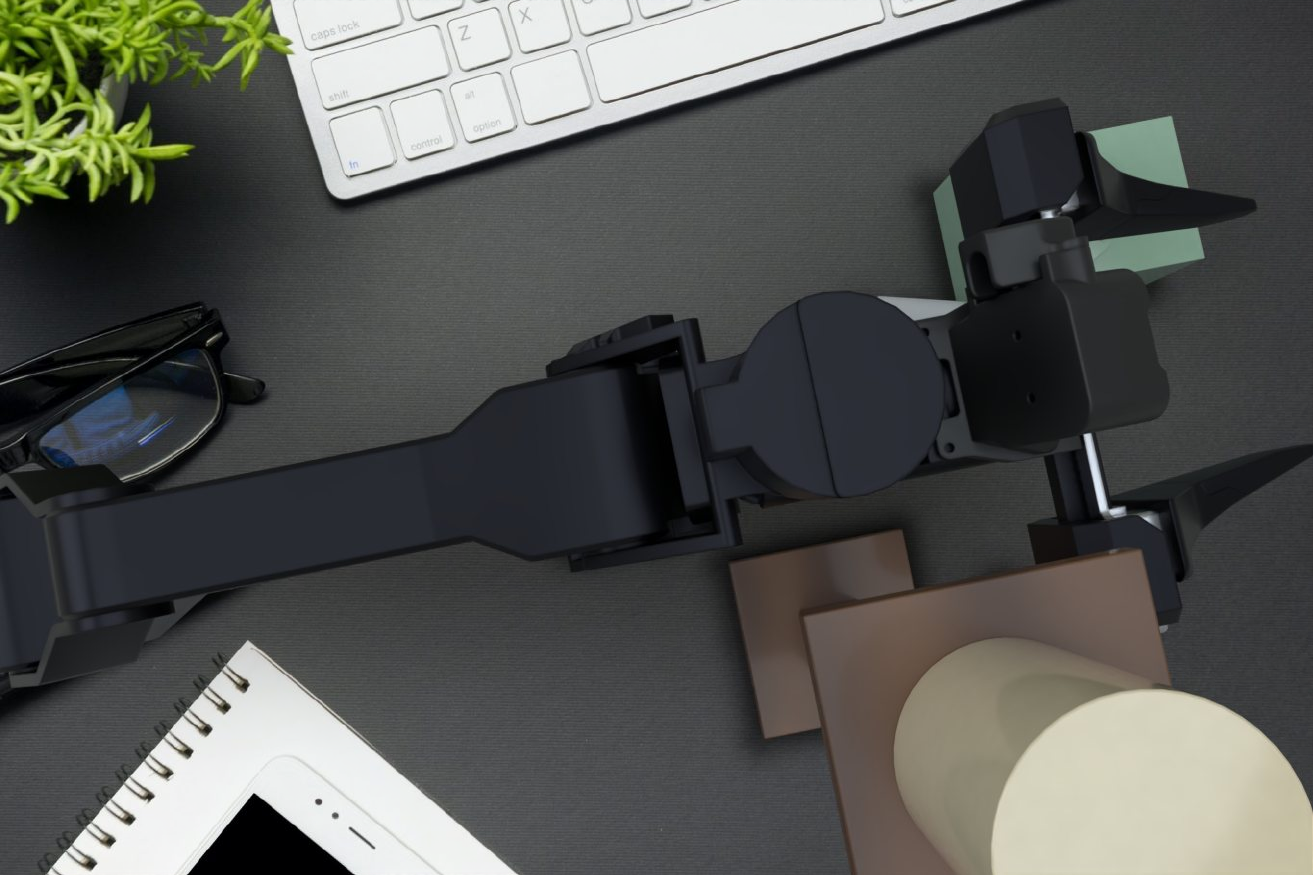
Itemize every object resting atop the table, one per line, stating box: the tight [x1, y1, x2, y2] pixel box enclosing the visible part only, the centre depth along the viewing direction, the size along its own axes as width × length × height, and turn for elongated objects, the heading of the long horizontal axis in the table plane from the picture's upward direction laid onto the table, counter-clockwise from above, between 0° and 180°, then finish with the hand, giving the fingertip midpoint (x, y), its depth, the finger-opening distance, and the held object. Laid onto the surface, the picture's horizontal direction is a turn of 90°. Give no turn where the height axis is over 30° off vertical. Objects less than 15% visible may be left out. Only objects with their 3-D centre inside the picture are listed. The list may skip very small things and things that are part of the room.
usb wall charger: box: [876, 295, 967, 321], centre depth 54 cm, size 4×7×4 cm, turn 86°
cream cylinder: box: [894, 637, 1313, 875], centre depth 23 cm, size 6×6×8 cm
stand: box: [727, 528, 1173, 875], centre depth 41 cm, size 9×9×28 cm
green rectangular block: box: [932, 115, 1206, 302], centre depth 53 cm, size 11×7×8 cm, turn 101°
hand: (1280, 327), depth 40 cm, fingers open, 9 cm apart
